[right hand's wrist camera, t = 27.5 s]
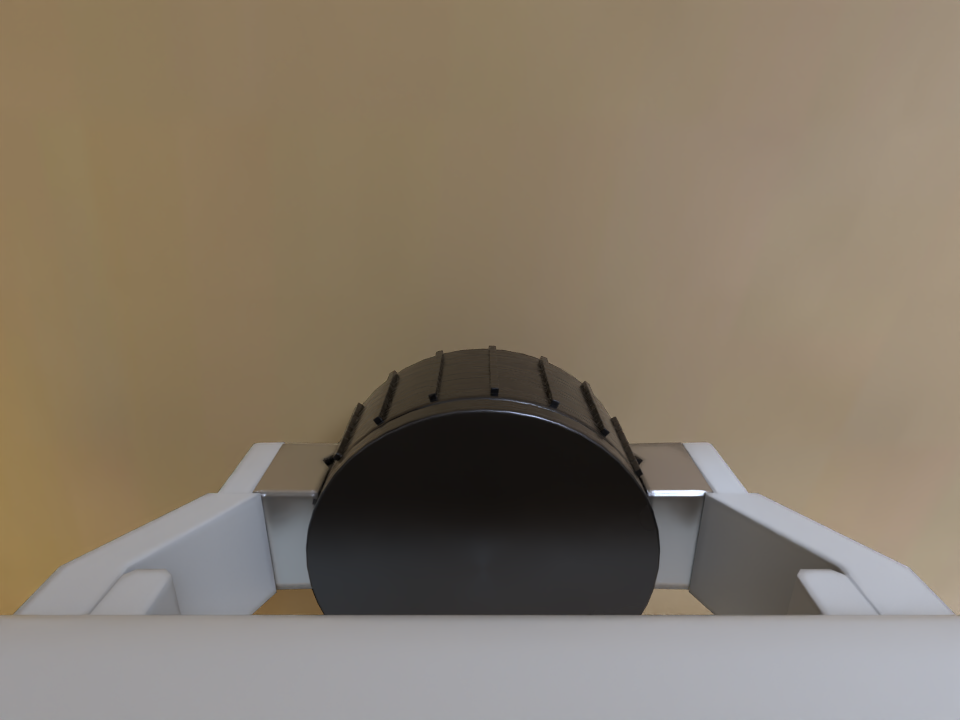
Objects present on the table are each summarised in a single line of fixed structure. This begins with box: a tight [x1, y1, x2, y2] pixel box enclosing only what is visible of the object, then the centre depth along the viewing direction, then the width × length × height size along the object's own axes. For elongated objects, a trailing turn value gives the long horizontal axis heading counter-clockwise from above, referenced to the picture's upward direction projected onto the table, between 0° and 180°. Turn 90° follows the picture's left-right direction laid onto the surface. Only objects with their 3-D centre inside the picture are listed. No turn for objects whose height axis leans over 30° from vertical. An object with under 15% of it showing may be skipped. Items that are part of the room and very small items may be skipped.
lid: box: [306, 346, 660, 615], centre depth 9 cm, size 5×5×2 cm
